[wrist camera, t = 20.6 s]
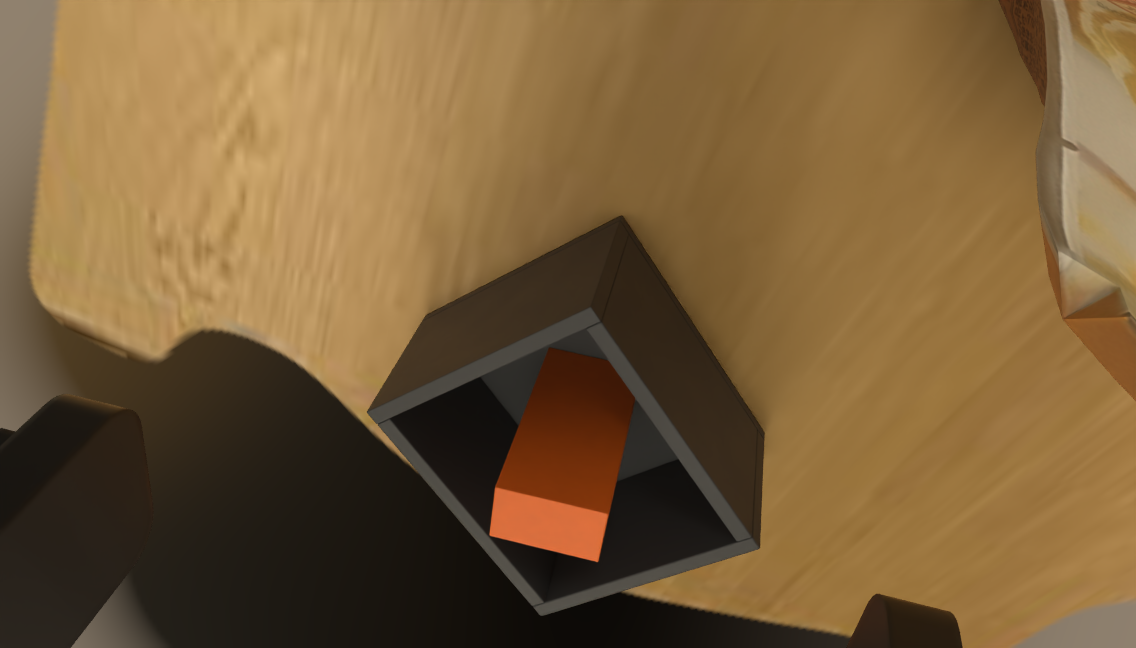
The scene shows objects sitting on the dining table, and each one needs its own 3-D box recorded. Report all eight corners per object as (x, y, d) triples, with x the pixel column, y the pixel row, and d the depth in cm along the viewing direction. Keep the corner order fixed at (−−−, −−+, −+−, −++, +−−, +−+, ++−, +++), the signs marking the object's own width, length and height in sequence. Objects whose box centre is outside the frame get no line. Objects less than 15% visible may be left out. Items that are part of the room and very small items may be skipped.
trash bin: (424, 315, 51) (365, 412, 44) (622, 214, 46) (590, 306, 39) (572, 503, 57) (540, 616, 49) (765, 433, 51) (760, 549, 44)
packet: (542, 391, 52) (489, 536, 43) (548, 346, 50) (495, 487, 41) (632, 412, 51) (598, 562, 42) (642, 367, 50) (608, 514, 41)
